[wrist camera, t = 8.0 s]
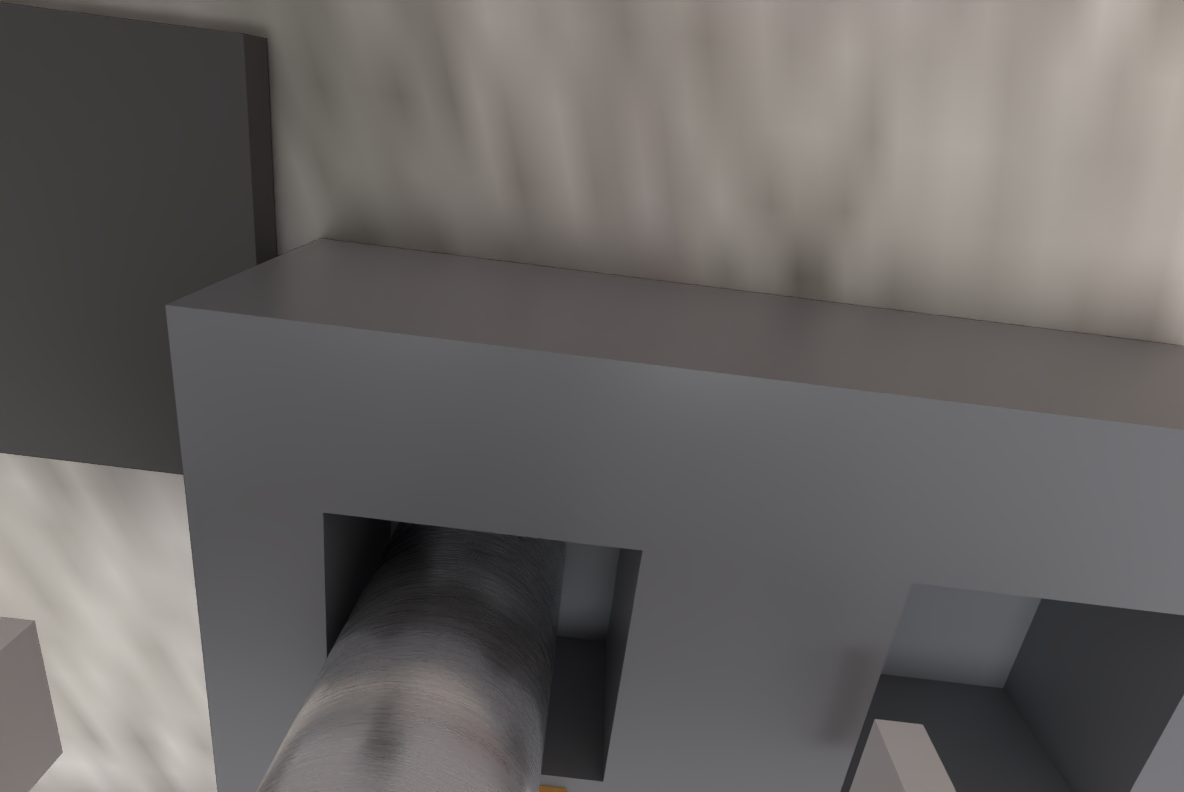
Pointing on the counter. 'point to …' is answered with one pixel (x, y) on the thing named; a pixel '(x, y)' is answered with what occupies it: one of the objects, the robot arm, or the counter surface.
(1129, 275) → the counter surface
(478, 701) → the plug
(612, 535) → the socket block
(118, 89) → the plate
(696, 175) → the counter surface
